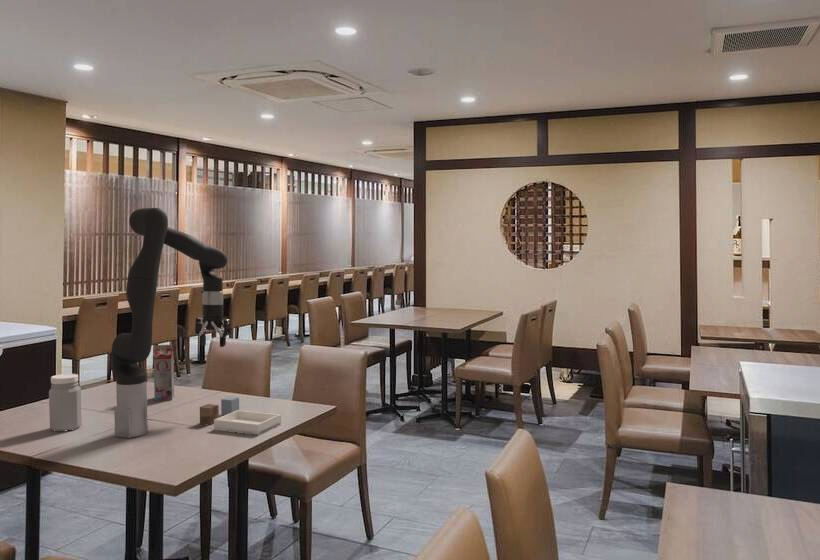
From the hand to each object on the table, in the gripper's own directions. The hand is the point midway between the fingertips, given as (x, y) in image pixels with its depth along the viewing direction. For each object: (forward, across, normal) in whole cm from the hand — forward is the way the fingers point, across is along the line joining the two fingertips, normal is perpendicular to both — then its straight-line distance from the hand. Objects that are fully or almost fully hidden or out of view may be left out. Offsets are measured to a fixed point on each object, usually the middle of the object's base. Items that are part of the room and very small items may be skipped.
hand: (212, 346), depth 240 cm
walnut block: (+25, +10, -15) cm, 31 cm away
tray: (+25, +26, -15) cm, 39 cm away
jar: (+26, -32, -37) cm, 55 cm away
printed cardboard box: (+24, -30, +9) cm, 39 cm away
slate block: (+24, +10, -3) cm, 27 cm away
